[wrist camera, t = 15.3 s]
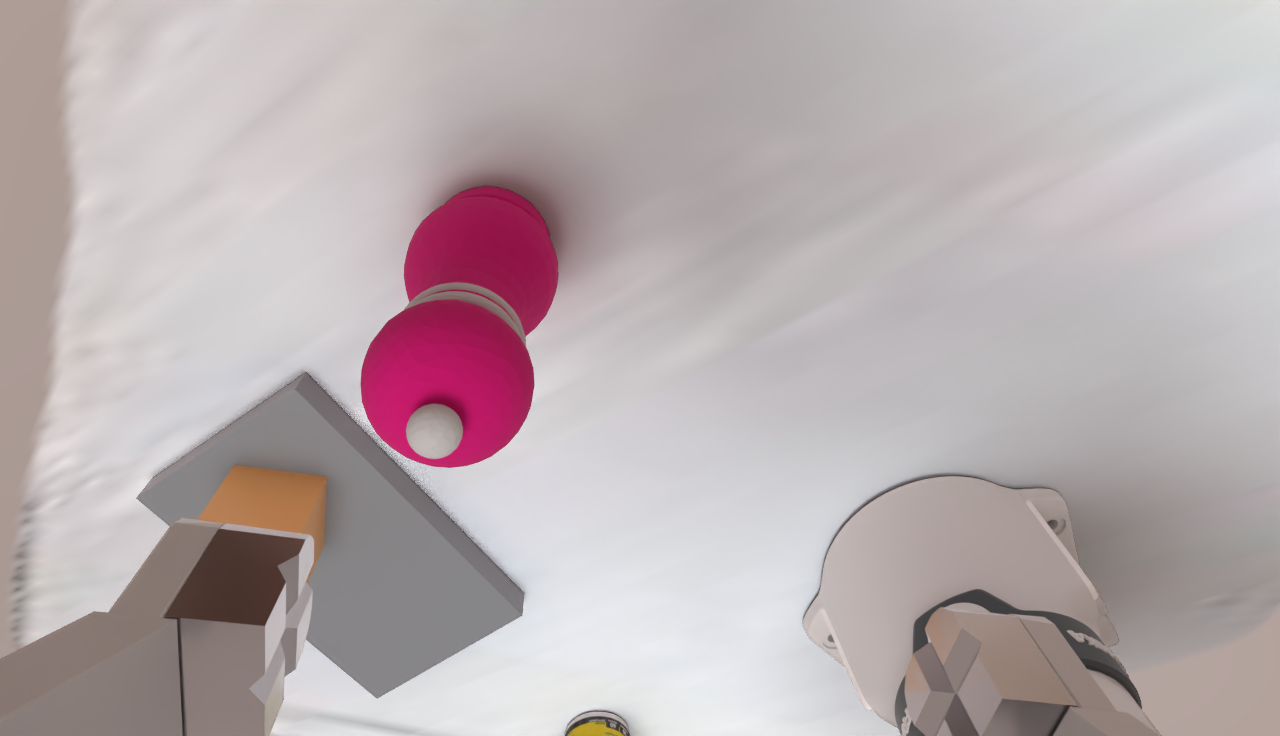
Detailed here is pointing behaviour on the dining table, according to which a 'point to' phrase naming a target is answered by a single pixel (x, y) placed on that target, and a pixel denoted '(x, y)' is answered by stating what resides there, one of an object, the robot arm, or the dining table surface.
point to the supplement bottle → (597, 725)
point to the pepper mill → (463, 331)
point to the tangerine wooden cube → (272, 502)
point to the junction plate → (357, 540)
